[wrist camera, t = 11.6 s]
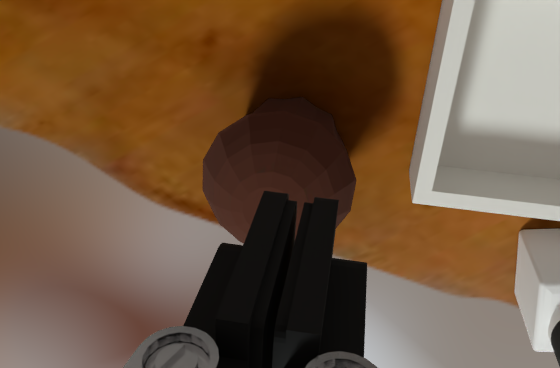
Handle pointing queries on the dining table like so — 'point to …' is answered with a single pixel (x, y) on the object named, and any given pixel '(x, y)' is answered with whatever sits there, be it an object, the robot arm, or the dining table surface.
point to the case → (492, 110)
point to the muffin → (276, 163)
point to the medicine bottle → (540, 287)
